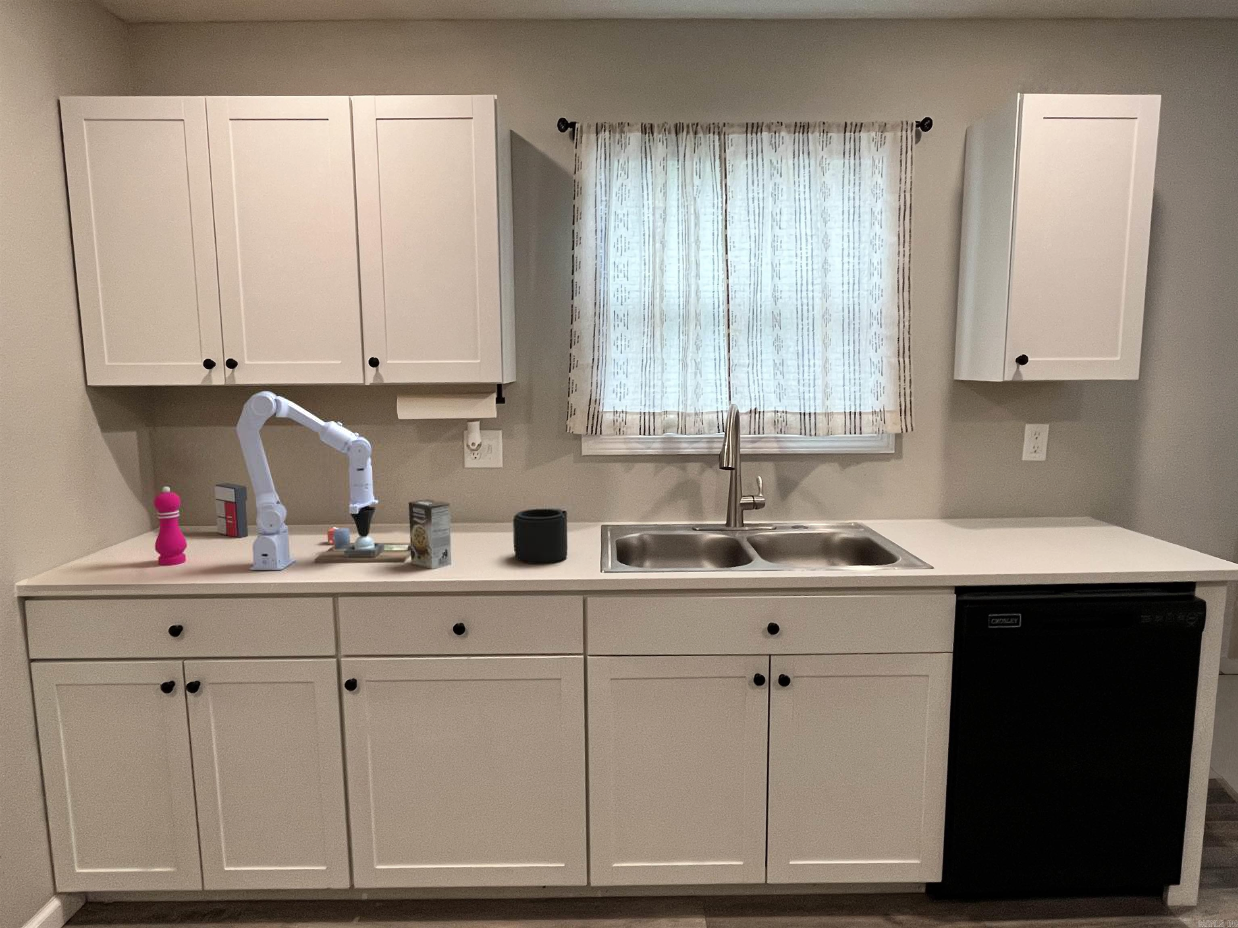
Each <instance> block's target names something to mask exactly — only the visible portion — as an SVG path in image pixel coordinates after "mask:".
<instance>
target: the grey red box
mask: <svg viewBox="0 0 1238 928" xmlns="http://www.w3.org/2000/svg"><path fill="white" fill-rule="evenodd" d="M214 494H215V500H214V502H215V503H214V504H215V515H216V516H217V517H216V527H217V533H218V534H220V535H224V536H227V537H228V536H229V537H233V538H237V539H240V538H245V537H248V536H249V532H248V531H249V530H248V517H247V516H248V515H247V505H246V502H247V500H248V491H247V486H246V485H241V484H234V483H229V482H225V483H218V484H215V486H214Z"/></svg>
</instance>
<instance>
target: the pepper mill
mask: <svg viewBox="0 0 1238 928" xmlns="http://www.w3.org/2000/svg"><path fill="white" fill-rule="evenodd" d="M161 491H162V493H159V494H157V495H156V496H155V498H154V499H153V506H154V508H155V509H156V510H157V512H156V515H157V516H156V517H157V518H158V519H159V532H158V534H157V537H156V540H155V542H154V543H155V544H154V551H156V553H157V554H158V555H159V556H158V557H157V561H158V565H160V566H176V565H180V564H183V563H185V562H186V561H187V558H186V557H187V556H186V555H187V554H186V553H184V552H185V550H186V549H187V547H188V544H187V540H186V537H185V535H184V534H183V532H182V530H181V529H180V526H179V522H178V521H179V516H180V511H179V507H180V506H181V498H180V496H179V495H178V494H177V493H176V492H171V488H170V487H169V486H163V487H162V489H161Z"/></svg>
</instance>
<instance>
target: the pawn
mask: <svg viewBox="0 0 1238 928" xmlns="http://www.w3.org/2000/svg"><path fill="white" fill-rule="evenodd" d="M339 528H340V529H335V530H334V544H335V549H337V550H343V549H347V548H348V547H350V543H351V537H350V536H351V535H350V534H351V533H350V528H347V527H339Z"/></svg>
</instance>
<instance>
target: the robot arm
mask: <svg viewBox="0 0 1238 928" xmlns="http://www.w3.org/2000/svg"><path fill="white" fill-rule="evenodd" d="M274 414H275V418H288V419H291V420H294V421H295V422H297V423H298V424H301V425H303V426H304V427H306V428H308V429H310V430H312V431H314V432H316V433H318V436H319V439H320V441H322V442H323V443H325V444H327V445H328V446H330V447H332V448H333V449H335V450H337V451H339V452H341V453H342V454H343V453H346V454H347V456H348V458H349V467H348V477H349V480H348V481H349V494H350V495H349V498H350V501H349V506H348V509H349V511H348V512H349V515H351V517H352V519H353V521H354V523H355V527H356V529H357V530H356V531H357V533H358V537H360V536H369V533H370V529H371V523H372V519H373V515H374V513H375V511H376V507H375V506H371V505H377V504H378V503H379V500H378V499H375V495H374V487H373V486H374V485H373V482H374V481H373V480H374V479H373V466H372V465H371V464H372V459H371V455H372V451H373V450H372V447H371V444H370V441H368V440H367V439H366V438H365V437H363V436H360V434H359V433H357V432H355V433H354V432H352V431H351V430H349V429H347V428H345V427H343V423H341V422H340V421H337V422H335V421H333V420H332V421H327V422H325V421H323V420H322V419H319V418H318V417H317V416H315V415H313V414H312V413H311V412H309V411H308V410H306V409H304V408H302V407H301V406H300V405H298V404H296V403H295V402H293V401H290V400H289V399H286V398H285V397H283V396H279V395H278V396H277V395H276V394H275V393H274V392H271V391H268V390H264V391H260V392H257V393H255V394H253V395H252V396H250V398H249V399H248V400H247V401H246V402H245V403H244V405H243V408H242V412H241V414H240V417H239V419H238V421H237V424H236V427H235V429H236V433H237V437H238V440H239V443H240V447H241V451H242V454H243V458H244V462H245V464H246V468H247V472H248V475H249V479H250V482H251V485H252V489H253V492H254V497H255V507H256V509H257V515H256V519H255V522H256V526H257V527H258V528H257V531H256V532H257V533H256V534H257V537H256V538H255V540H254V541H253V543H252V558H253V566H251V567H250V568H249V569H250V570H252V571H263V570H265V571H269V570H270V571H272V570H273V571H275V570H277V571H278V570H284V569H285V568H286V567H288V566H290V565H292V564H293V563H294V562H296V561H297V558H293V557H292V558H291V554H290V539H289V538H290V536H289V526H287V525H286V524H285V520H286V519H287V517H288V513H287V512H288V511H287V509H286V507H285V506H284V504H282V502H281V500H280V497H279V495H278V493H277V491H276V489H275V484H274V481H273V478H272V475H271V469H270V467H269V464H268V459H267V456H266V453H265V449H264V446H263V441H262V438H261V434H260V430H261V429H262V427H263V426H264V425H265V423H266V421H267V420H268V419H269V418H271V417H272V416H274Z"/></svg>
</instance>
